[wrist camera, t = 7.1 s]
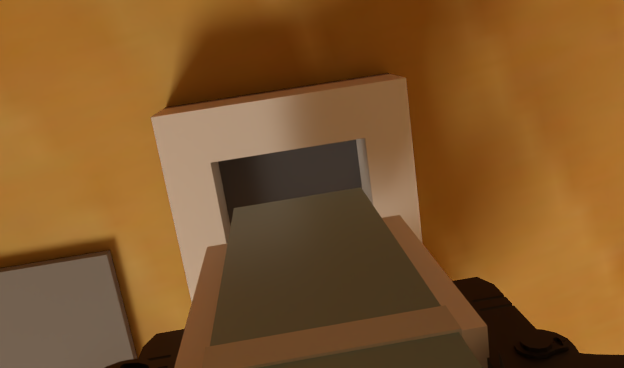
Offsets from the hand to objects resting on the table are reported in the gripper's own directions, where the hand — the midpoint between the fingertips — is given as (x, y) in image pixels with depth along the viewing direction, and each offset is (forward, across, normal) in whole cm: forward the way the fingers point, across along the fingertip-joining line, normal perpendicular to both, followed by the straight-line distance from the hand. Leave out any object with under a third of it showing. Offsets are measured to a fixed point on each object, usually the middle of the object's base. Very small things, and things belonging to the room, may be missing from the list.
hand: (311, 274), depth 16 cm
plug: (+2, 0, 0) cm, 2 cm away
